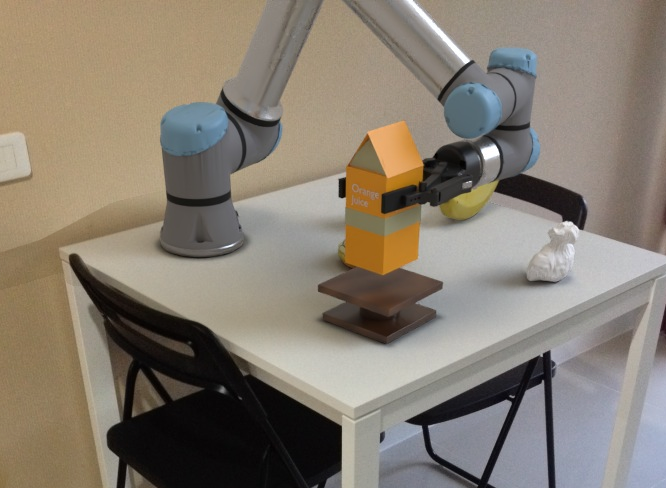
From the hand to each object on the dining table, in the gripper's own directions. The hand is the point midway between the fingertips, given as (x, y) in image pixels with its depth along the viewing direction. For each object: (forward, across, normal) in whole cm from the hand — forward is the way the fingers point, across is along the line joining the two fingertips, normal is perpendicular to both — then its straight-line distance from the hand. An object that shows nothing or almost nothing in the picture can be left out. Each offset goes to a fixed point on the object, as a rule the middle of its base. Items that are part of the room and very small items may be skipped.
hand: (361, 196), depth 141 cm
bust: (-39, -8, -21) cm, 45 cm away
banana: (-53, +23, -21) cm, 62 cm away
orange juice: (-5, 0, -11) cm, 12 cm away
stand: (-5, 0, -21) cm, 21 cm away
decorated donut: (-20, +18, -21) cm, 34 cm away
